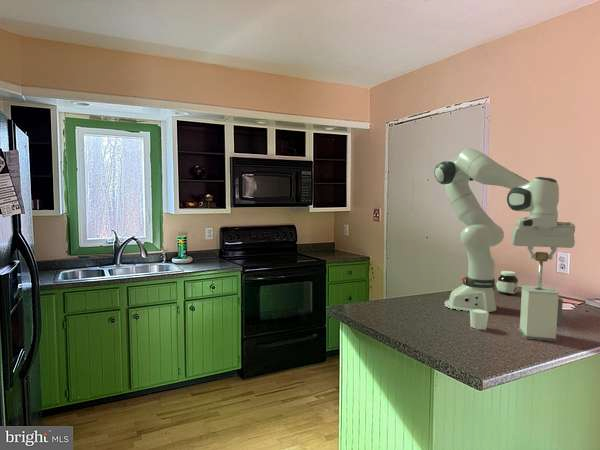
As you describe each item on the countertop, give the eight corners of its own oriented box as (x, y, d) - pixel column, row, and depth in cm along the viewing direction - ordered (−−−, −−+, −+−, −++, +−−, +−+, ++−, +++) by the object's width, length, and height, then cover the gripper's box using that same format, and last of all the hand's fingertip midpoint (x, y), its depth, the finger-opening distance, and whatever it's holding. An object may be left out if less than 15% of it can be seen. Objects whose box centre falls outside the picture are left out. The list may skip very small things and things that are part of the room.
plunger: (530, 307, 152) (533, 253, 150) (525, 302, 159) (528, 250, 157) (552, 309, 150) (555, 254, 148) (546, 303, 157) (549, 251, 155)
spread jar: (507, 296, 213) (508, 274, 212) (488, 291, 223) (489, 270, 222) (522, 293, 219) (523, 272, 218) (502, 289, 229) (503, 268, 228)
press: (525, 339, 152) (527, 291, 150) (518, 329, 162) (520, 285, 160) (564, 342, 148) (567, 293, 147) (554, 332, 158) (557, 287, 157)
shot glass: (465, 326, 165) (465, 309, 165) (478, 324, 168) (479, 307, 167) (478, 332, 159) (478, 314, 158) (491, 330, 161) (492, 312, 161)
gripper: (572, 221, 152) (569, 258, 153) (511, 220, 157) (509, 256, 159) (578, 222, 146) (576, 261, 147) (515, 221, 151) (513, 258, 153)
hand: (541, 258), depth 153 cm, fingers closed on plunger, 4 cm apart
